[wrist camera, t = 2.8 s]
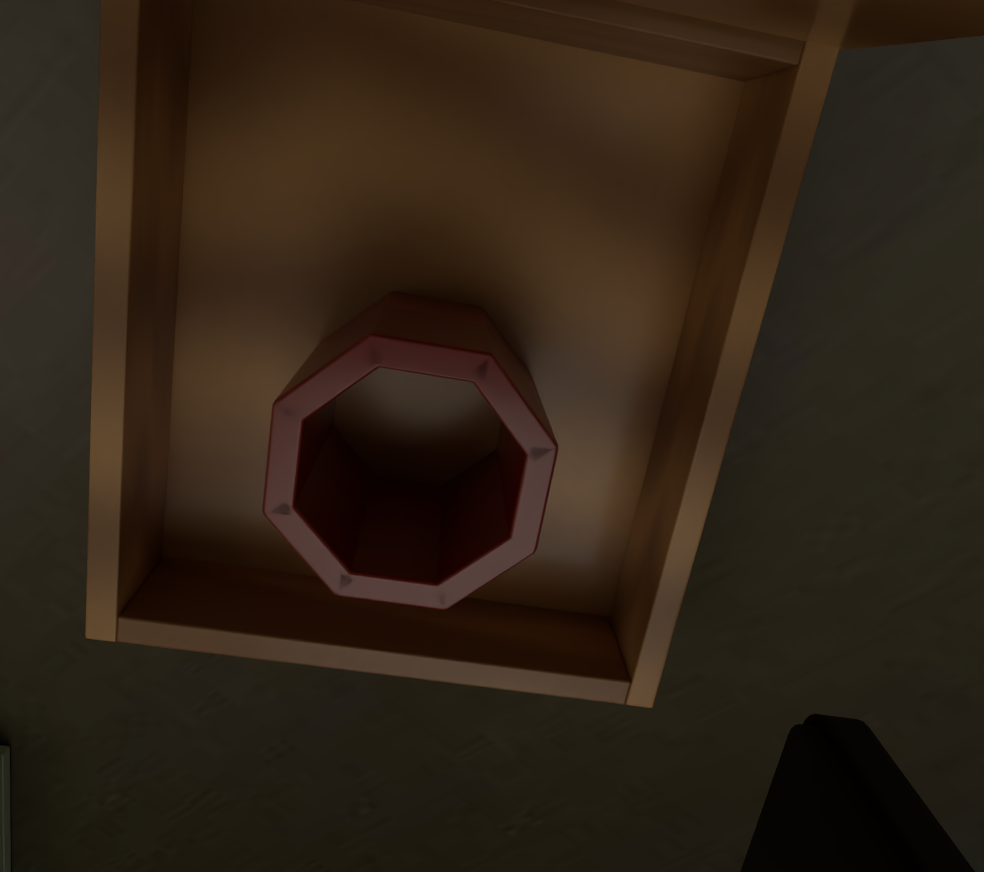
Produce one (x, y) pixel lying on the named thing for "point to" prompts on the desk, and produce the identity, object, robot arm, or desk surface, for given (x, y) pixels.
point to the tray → (5, 810)
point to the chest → (439, 275)
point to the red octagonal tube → (400, 504)
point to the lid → (840, 19)
